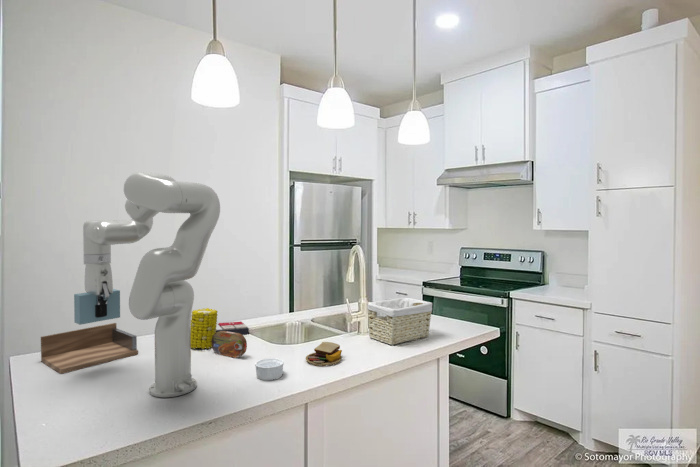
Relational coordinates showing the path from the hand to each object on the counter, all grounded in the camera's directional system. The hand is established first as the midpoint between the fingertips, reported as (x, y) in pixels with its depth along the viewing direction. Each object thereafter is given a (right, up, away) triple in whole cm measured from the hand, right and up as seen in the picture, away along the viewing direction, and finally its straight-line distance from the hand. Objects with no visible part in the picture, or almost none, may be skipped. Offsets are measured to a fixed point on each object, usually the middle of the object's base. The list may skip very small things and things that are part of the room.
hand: (97, 314), depth 135 cm
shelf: (-9, -17, +11) cm, 23 cm away
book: (0, -2, 0) cm, 2 cm away
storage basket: (+102, -17, +38) cm, 110 cm away
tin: (+38, -18, +15) cm, 45 cm away
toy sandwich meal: (+72, -18, +11) cm, 75 cm away
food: (+25, -17, +25) cm, 40 cm away
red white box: (+29, -17, +43) cm, 55 cm away
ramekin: (+56, -19, -4) cm, 59 cm away
